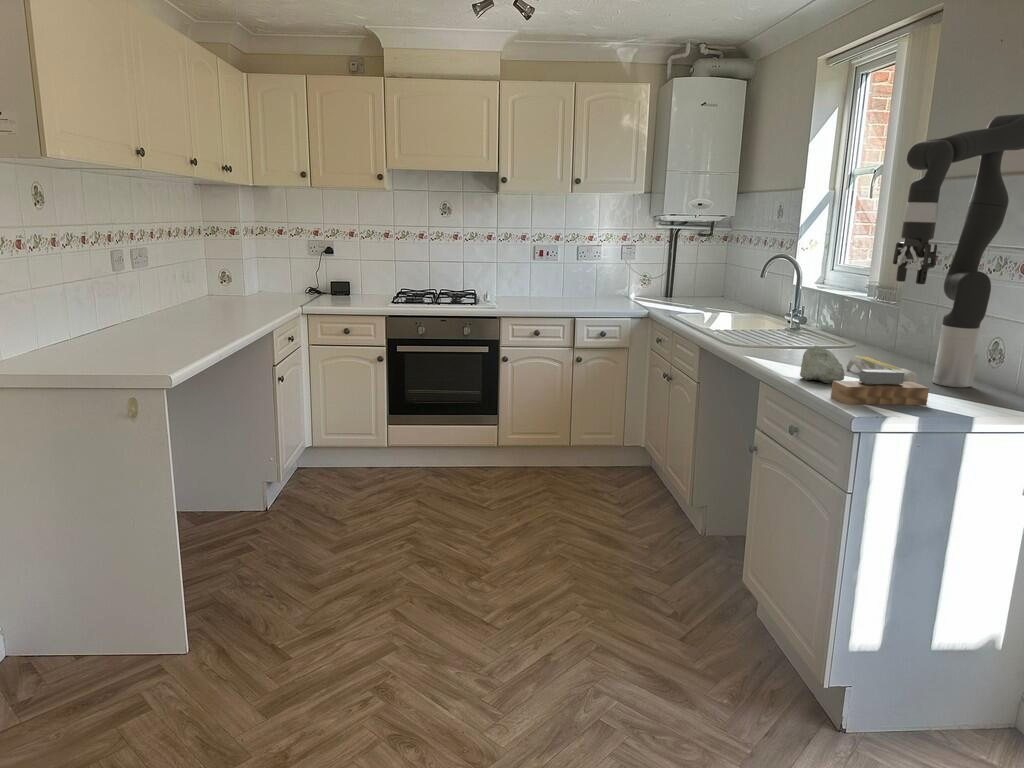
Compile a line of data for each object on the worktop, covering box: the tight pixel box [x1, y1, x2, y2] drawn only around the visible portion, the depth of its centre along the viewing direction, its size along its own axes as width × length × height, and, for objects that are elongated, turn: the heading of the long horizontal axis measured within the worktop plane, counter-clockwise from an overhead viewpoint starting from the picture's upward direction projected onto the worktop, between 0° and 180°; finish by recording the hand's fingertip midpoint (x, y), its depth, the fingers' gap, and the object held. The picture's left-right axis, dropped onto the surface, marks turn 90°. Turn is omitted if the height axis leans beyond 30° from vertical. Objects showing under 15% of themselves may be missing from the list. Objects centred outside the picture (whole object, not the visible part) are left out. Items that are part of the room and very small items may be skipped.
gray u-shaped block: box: [858, 369, 904, 386], centre depth 186 cm, size 10×3×8 cm, turn 94°
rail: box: [830, 380, 930, 406], centre depth 186 cm, size 22×7×4 cm, turn 94°
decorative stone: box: [799, 344, 846, 385], centre depth 208 cm, size 14×11×10 cm
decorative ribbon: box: [846, 355, 918, 384], centre depth 212 cm, size 8×6×30 cm
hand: (910, 282), depth 191 cm, fingers open, 8 cm apart
